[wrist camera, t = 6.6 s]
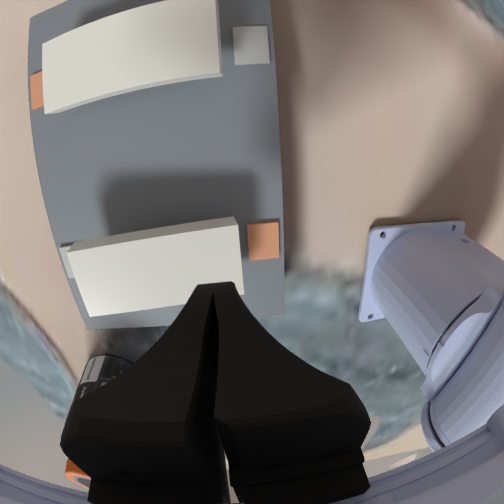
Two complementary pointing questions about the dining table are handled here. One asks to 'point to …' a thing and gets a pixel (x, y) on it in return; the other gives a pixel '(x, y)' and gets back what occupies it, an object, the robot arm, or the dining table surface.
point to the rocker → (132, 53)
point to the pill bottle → (92, 379)
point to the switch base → (168, 154)
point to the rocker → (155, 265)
